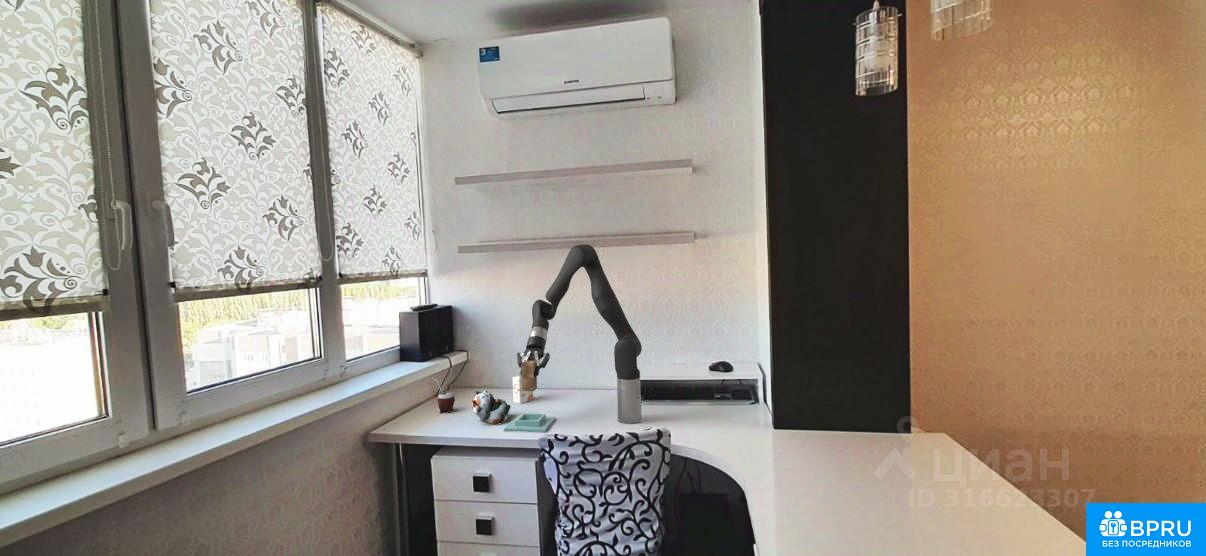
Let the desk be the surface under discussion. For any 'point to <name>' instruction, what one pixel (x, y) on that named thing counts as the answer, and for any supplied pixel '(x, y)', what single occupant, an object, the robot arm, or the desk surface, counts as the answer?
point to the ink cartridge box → (520, 391)
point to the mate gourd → (445, 400)
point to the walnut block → (529, 376)
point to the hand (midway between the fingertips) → (528, 375)
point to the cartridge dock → (530, 423)
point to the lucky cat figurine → (490, 408)
